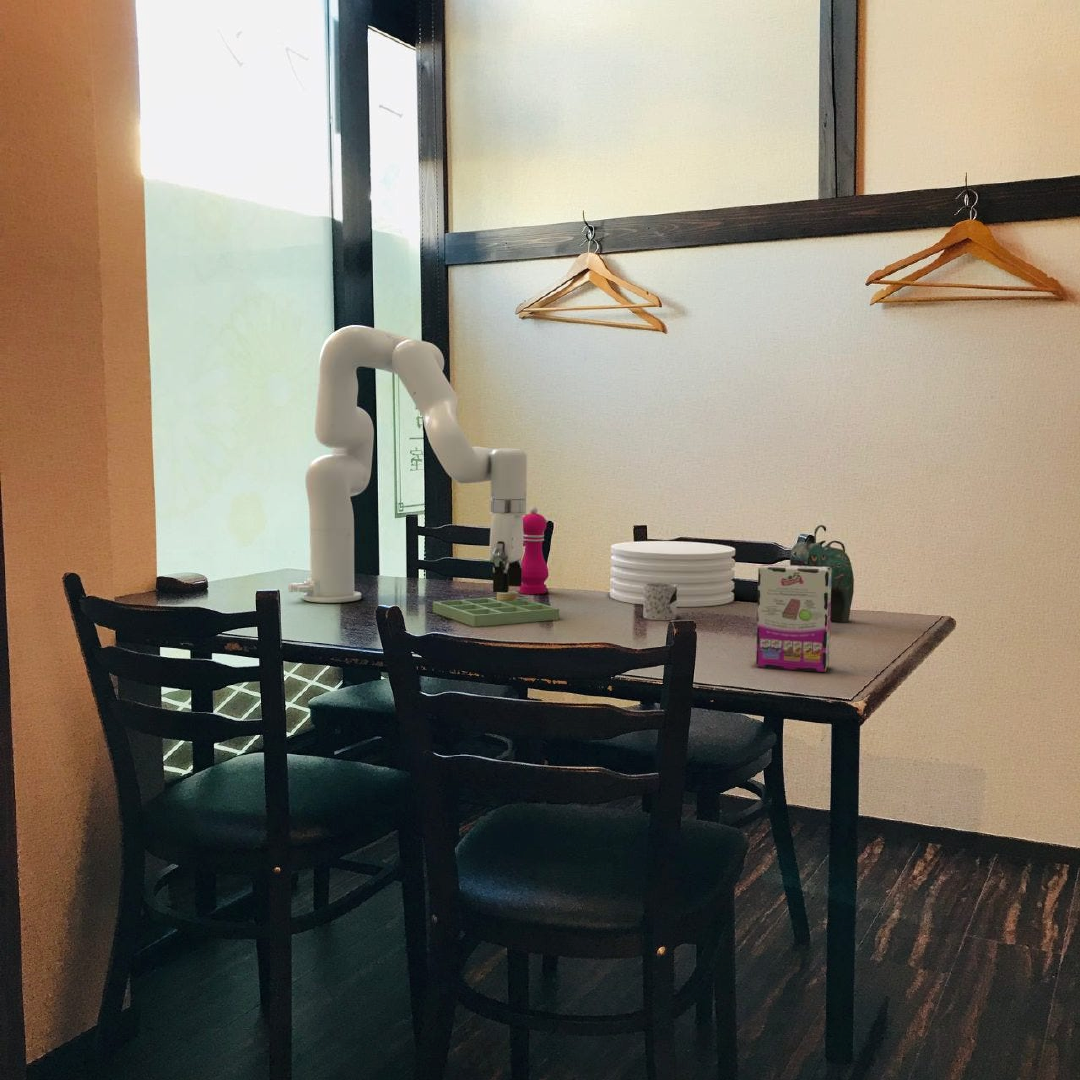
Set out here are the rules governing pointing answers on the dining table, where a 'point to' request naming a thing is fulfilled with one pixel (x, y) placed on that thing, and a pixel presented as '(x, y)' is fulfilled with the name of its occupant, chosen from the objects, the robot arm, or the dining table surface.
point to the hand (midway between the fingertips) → (507, 589)
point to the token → (507, 596)
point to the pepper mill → (533, 554)
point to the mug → (660, 601)
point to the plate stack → (673, 571)
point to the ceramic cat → (840, 574)
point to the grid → (495, 611)
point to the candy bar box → (793, 617)
